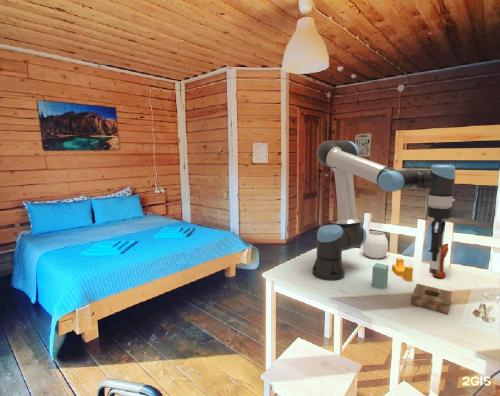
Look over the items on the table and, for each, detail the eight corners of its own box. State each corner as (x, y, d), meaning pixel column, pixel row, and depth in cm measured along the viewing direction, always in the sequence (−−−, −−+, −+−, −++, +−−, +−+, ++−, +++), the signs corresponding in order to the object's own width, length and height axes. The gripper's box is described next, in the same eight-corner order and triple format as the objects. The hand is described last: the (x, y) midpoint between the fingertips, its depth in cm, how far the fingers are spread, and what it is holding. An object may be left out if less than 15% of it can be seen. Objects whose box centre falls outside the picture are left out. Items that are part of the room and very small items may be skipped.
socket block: (410, 304, 112) (411, 294, 112) (416, 292, 122) (416, 283, 121) (448, 314, 105) (449, 304, 104) (450, 301, 114) (451, 291, 114)
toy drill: (450, 268, 146) (453, 239, 144) (443, 280, 133) (446, 248, 130) (439, 265, 149) (442, 237, 147) (430, 277, 136) (433, 246, 134)
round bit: (428, 272, 111) (430, 247, 109) (429, 270, 113) (431, 245, 112) (438, 274, 109) (440, 249, 107) (439, 272, 111) (441, 247, 110)
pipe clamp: (391, 270, 144) (392, 258, 143) (400, 270, 144) (401, 258, 143) (402, 281, 133) (403, 267, 132) (411, 281, 132) (413, 268, 131)
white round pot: (386, 253, 168) (387, 231, 165) (388, 261, 155) (390, 237, 153) (362, 251, 172) (363, 229, 170) (362, 258, 160) (363, 235, 158)
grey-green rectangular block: (371, 285, 128) (372, 266, 127) (375, 281, 132) (376, 262, 131) (384, 289, 125) (385, 269, 124) (387, 284, 129) (388, 265, 128)
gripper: (450, 211, 99) (443, 276, 102) (453, 204, 111) (448, 262, 115) (424, 209, 103) (419, 271, 107) (430, 202, 116) (426, 258, 119)
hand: (434, 266), depth 111 cm, fingers closed on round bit, 3 cm apart
